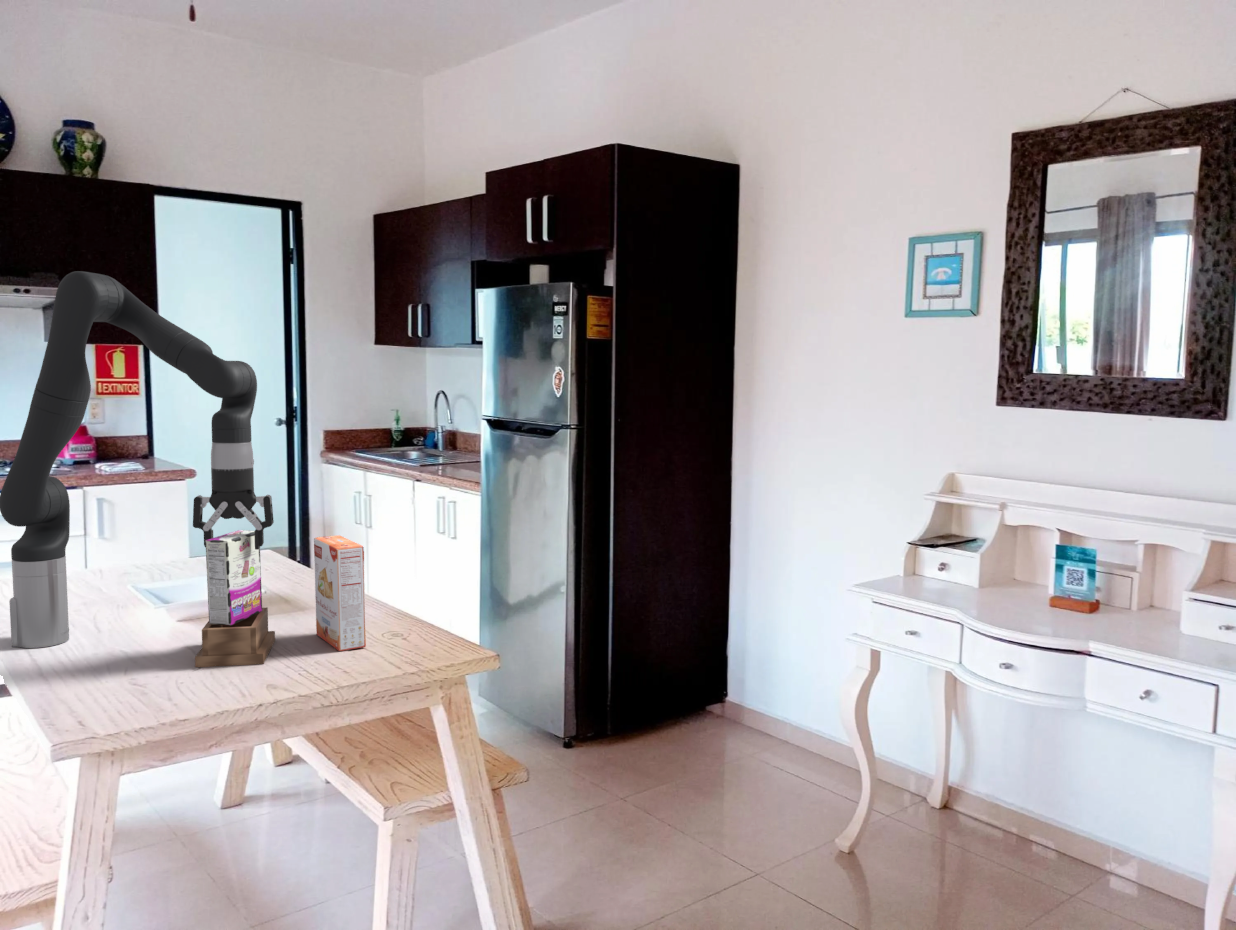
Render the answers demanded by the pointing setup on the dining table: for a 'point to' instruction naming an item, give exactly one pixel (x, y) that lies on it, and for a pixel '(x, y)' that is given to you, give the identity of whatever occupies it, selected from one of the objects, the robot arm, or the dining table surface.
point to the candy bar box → (233, 577)
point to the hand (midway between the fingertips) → (234, 549)
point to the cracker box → (340, 592)
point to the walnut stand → (236, 642)
